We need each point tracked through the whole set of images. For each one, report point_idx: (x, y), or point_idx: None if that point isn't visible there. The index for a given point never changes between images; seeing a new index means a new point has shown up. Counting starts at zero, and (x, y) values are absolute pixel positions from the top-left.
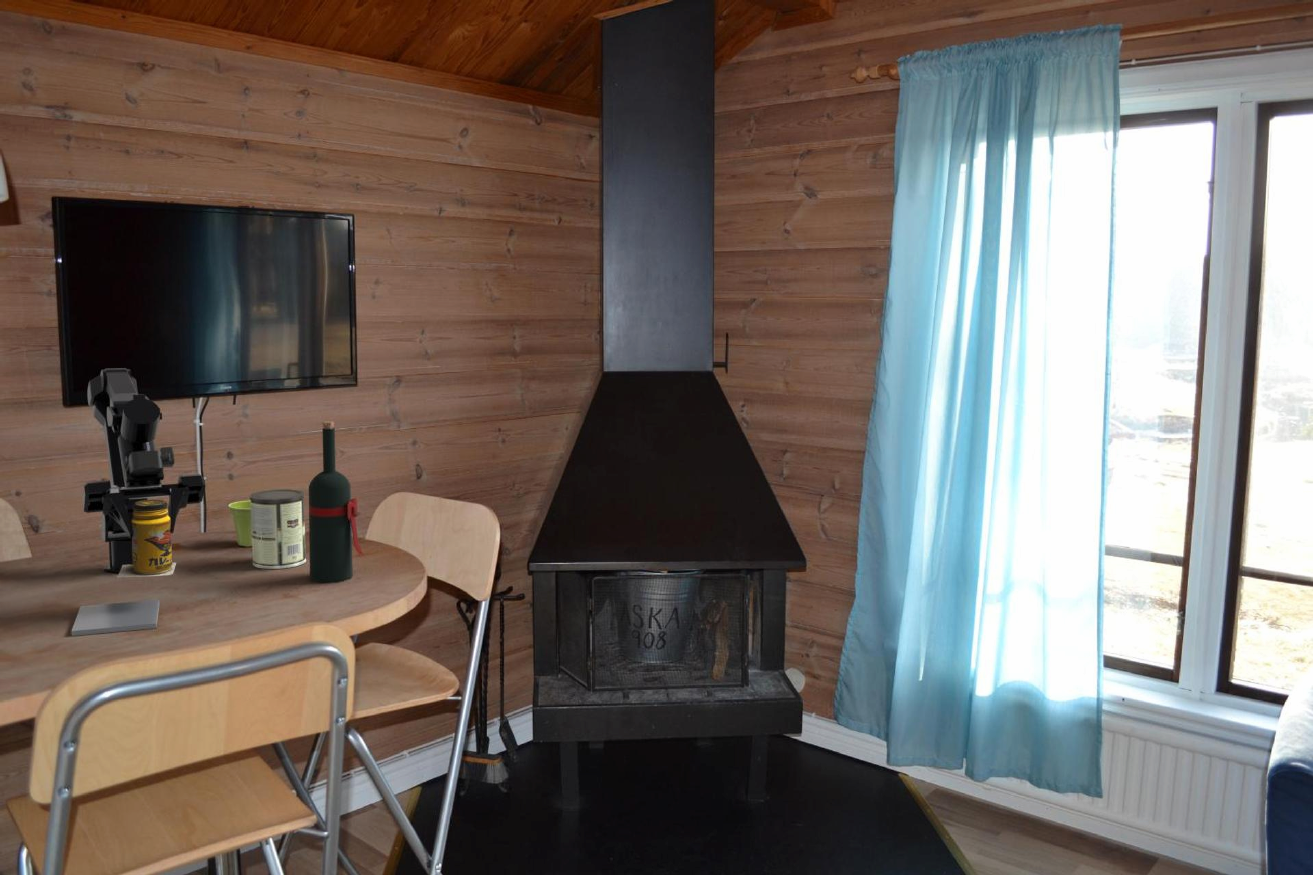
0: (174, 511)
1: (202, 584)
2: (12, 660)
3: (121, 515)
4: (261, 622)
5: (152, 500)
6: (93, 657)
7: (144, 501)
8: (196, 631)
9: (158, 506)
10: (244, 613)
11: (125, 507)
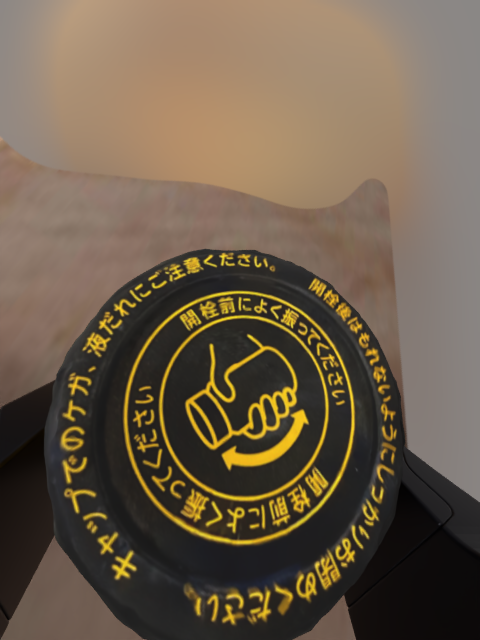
0: (20, 414)
1: None
2: (393, 270)
3: (409, 451)
4: (93, 207)
5: (184, 562)
6: (319, 224)
7: (294, 536)
8: (190, 231)
9: (211, 250)
10: (86, 263)
11: (436, 514)
